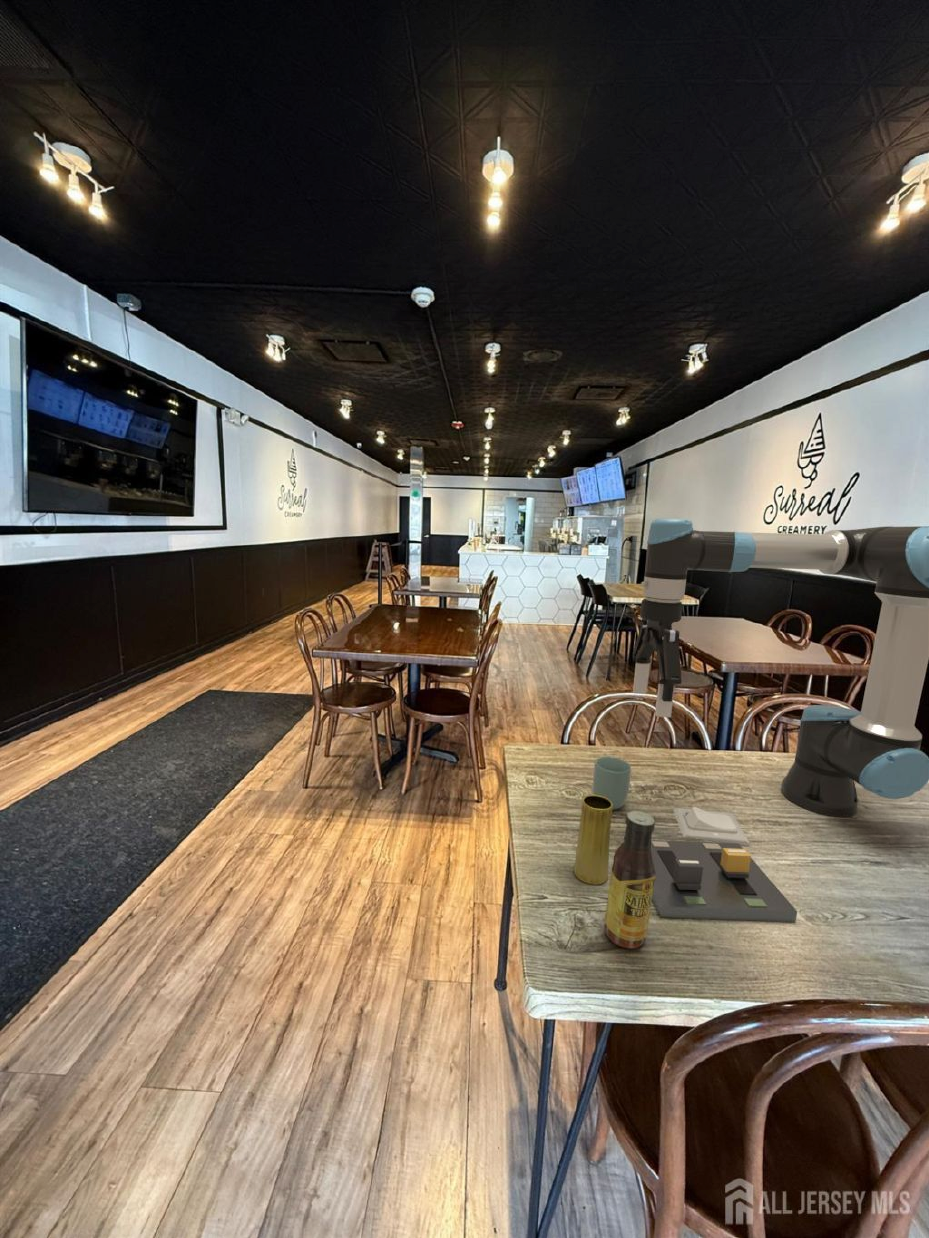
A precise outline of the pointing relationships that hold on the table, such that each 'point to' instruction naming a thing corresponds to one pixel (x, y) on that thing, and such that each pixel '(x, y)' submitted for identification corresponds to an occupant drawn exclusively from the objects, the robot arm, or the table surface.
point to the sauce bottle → (631, 884)
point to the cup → (612, 780)
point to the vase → (594, 840)
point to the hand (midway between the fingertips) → (650, 704)
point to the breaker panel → (715, 887)
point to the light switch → (710, 826)
